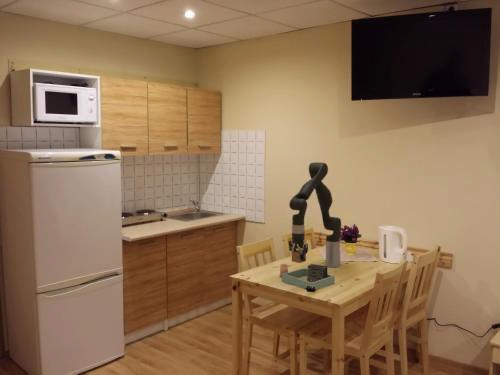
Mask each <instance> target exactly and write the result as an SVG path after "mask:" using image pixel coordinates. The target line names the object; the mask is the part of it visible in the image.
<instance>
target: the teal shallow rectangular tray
mask: <svg viewBox="0 0 500 375" xmlns="http://www.w3.org/2000/svg"><path fill="white" fill-rule="evenodd" d="M303 276H305V277H308V268H306V267H302V268H299V269H295V270H292V271H288V273H284V274H282V277H281V282H283V283H285V284H289V285H292V286H295V287H299V288H302V289H304V290H305V289H306V287H307V286H310V287H312V288H313V287H315V289H316V290H319V289H322V288H327V287H329V286H331V285H334V284H335V278H336V277H335V275H332V274H329V273H327V278H325V279H322V280H318V281H315V282H309V281H308V280H307V279H306V280H305V279H302V278H300V277H303ZM306 290H307V289H306ZM316 290H315V291H316Z"/></svg>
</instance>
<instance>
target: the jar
mask: <svg viewBox="0 0 500 375" xmlns="http://www.w3.org/2000/svg"><path fill="white" fill-rule="evenodd" d="M288 272H289V265H288V264H286V263H281V264H280V266H279V277H280V278H282V274H284V273H288Z"/></svg>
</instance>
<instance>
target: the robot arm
mask: <svg viewBox="0 0 500 375" xmlns="http://www.w3.org/2000/svg"><path fill="white" fill-rule="evenodd" d="M308 173H309V176H310V179H309V180H308V181H306V182H305V183H304V184H303V185H301V186H302V187H301V188H300V189H299V191H298V192H297V193H296V194H295V195H294V196H293V197H292V198H291V199H290V200H289V204H288V206H289V208H290V209H291V211H298V213H296V214H293V215H292V218H291V219H292V222H291V224H292V225H291V240H288V250H289V251H290V252H291V253H292V251H295V250H299V251H300V253H301V261H303V260H304V255H305V254H306V255H307V254H308V251H309V244H308V243H305V239H306V238H305V233H306V231H305V228H306V227H305V217H306V216H305V215H306V212H307V208H308V202H307V201H308V200H309V199H310V197H311V195H312V194H313V192H314V190H315V195H316V198H317V202H318V205H319V208H320V212H321V218H322V224H323V227H324V229H325V230H326V231H332V234H330V235H326V237H325V266H328V267H329V268H338V267H340V266H341V244H340V243H341V233H342V232H341V231H342V220H341V218H340V217H337V216H334V217H333V216H331V215H330V209H331V206H332V205H333V197H332V192H331V190H330V189H329V188H328V186H327V185H326V184H324V182H323V180H324V179H325V177H326V176H327V175H328V173H329V166H328V164H327V163H325V162H311V163H310V164H309V165H308Z"/></svg>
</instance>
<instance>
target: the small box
mask: <svg viewBox="0 0 500 375" xmlns="http://www.w3.org/2000/svg"><path fill="white" fill-rule="evenodd" d="M307 269H308V276H307V280H308V279H316V281H318V280H322V279H325V278H327V274H328V266H326V265H321V264H314V263H311V264H309V265H307Z"/></svg>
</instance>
